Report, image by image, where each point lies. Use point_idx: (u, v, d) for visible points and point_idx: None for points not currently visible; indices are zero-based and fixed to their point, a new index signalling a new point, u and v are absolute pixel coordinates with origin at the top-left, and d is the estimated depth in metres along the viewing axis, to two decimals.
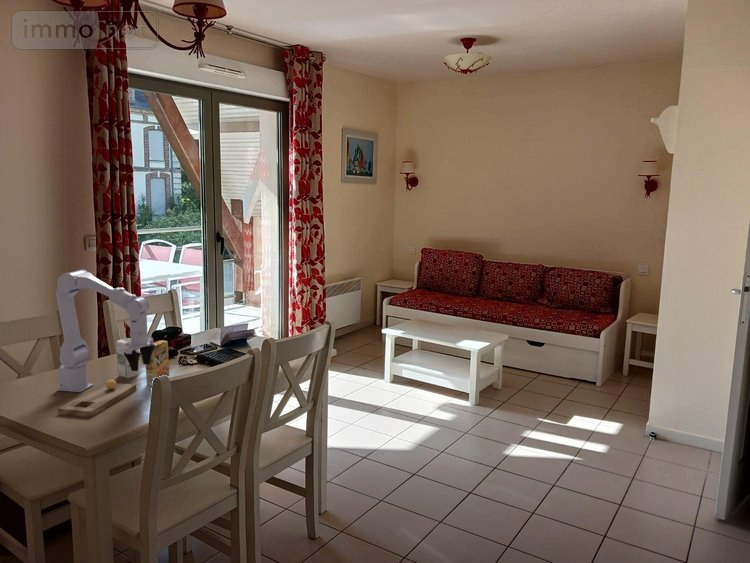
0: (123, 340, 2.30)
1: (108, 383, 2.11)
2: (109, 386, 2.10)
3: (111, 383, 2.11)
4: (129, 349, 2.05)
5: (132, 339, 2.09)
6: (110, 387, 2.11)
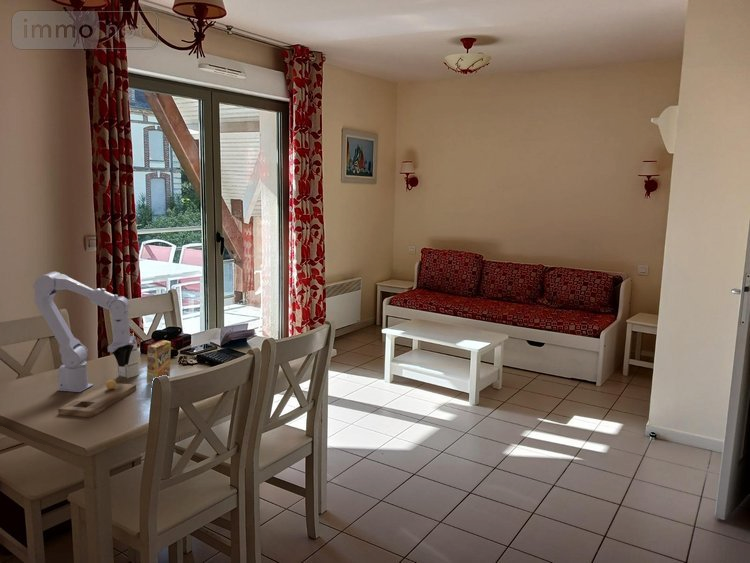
0: None
1: (108, 383, 2.11)
2: (109, 386, 2.10)
3: (111, 383, 2.11)
4: (111, 347, 2.10)
5: (114, 338, 2.15)
6: (110, 387, 2.11)
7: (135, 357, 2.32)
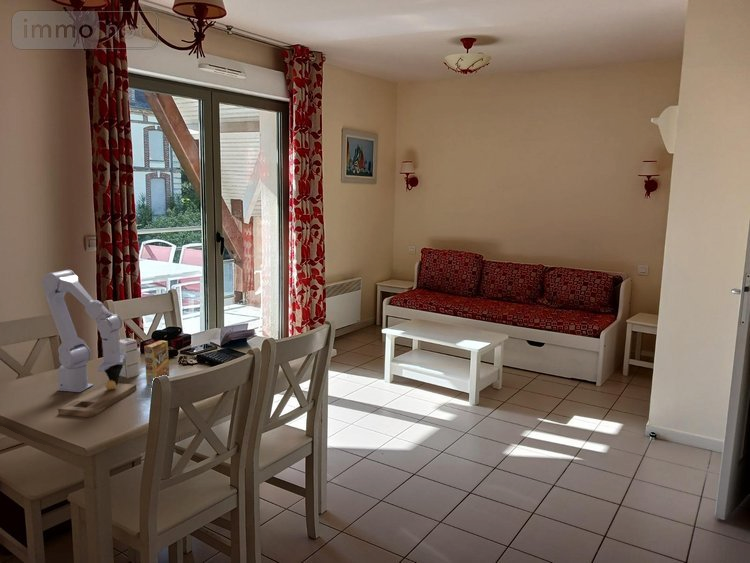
0: (123, 340, 2.30)
1: (107, 385, 2.10)
2: (109, 387, 2.10)
3: (110, 385, 2.10)
4: (101, 367, 2.05)
5: (105, 357, 2.09)
6: (110, 388, 2.11)
7: (135, 357, 2.32)
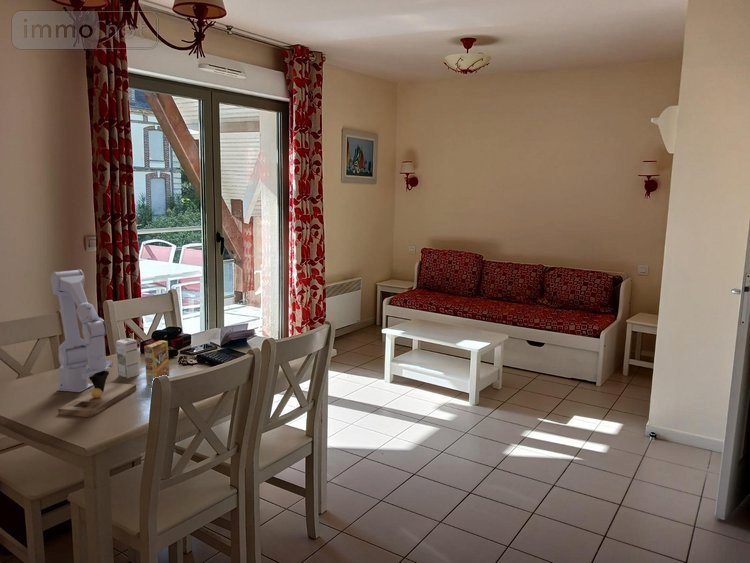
0: (123, 340, 2.30)
1: (97, 388, 2.04)
2: (95, 389, 2.03)
3: (99, 389, 2.04)
4: (86, 374, 1.97)
5: (89, 364, 2.01)
6: (95, 390, 2.02)
7: (135, 357, 2.32)
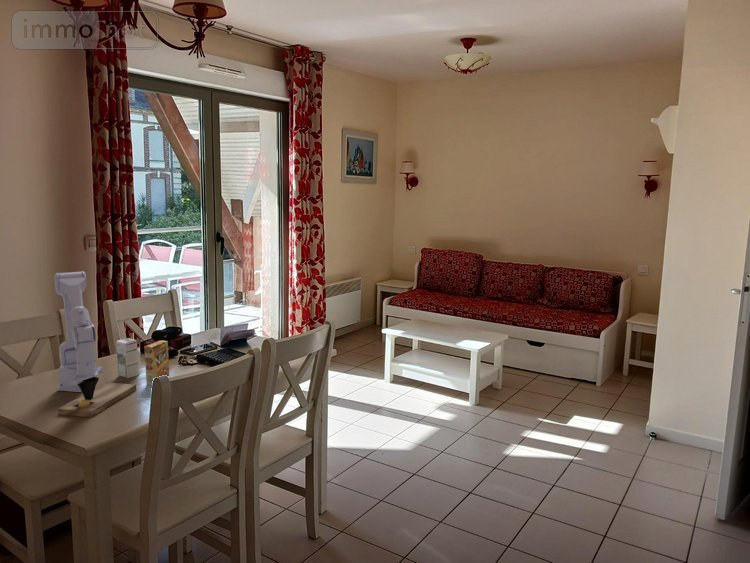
0: (123, 340, 2.30)
1: None
2: None
3: None
4: (74, 381, 1.92)
5: (78, 370, 1.96)
6: None
7: (135, 357, 2.32)
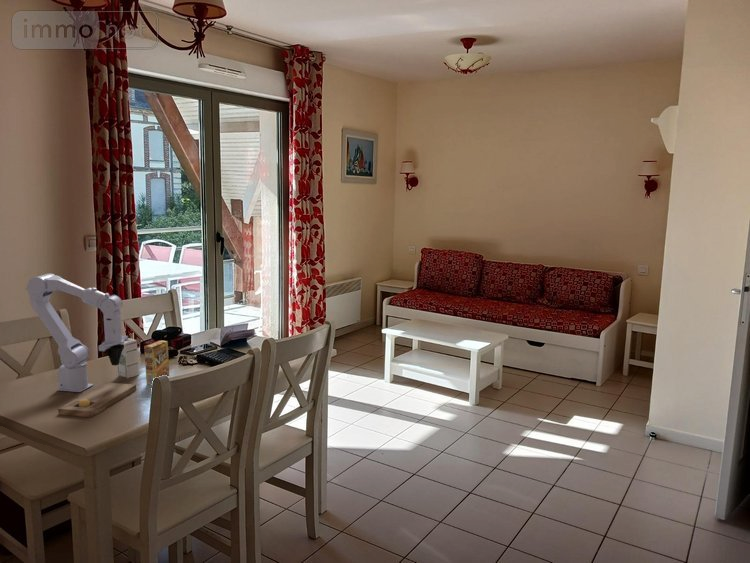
0: None
1: None
2: None
3: None
4: (102, 347, 2.08)
5: (106, 337, 2.13)
6: None
7: (135, 357, 2.32)
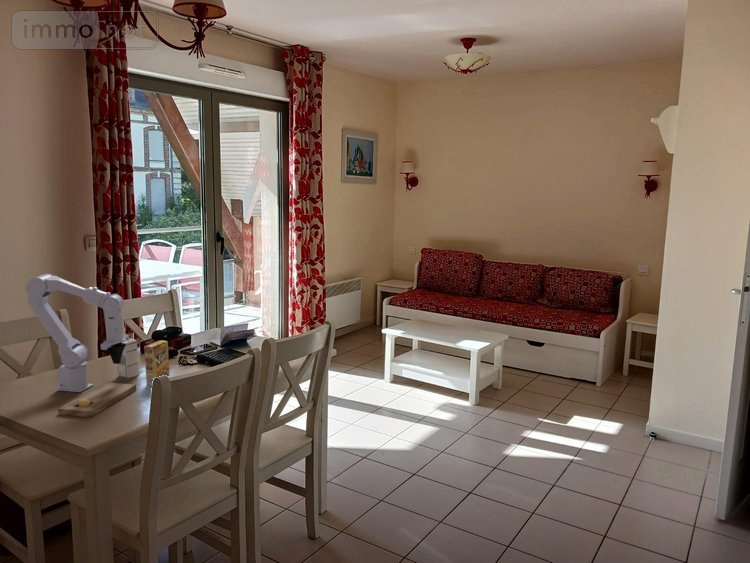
0: None
1: None
2: None
3: None
4: (104, 345, 2.10)
5: (108, 335, 2.14)
6: None
7: (135, 357, 2.32)
